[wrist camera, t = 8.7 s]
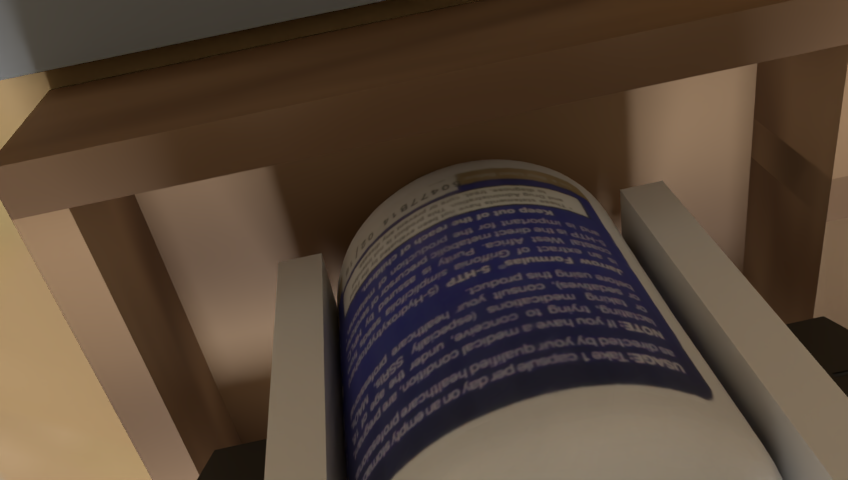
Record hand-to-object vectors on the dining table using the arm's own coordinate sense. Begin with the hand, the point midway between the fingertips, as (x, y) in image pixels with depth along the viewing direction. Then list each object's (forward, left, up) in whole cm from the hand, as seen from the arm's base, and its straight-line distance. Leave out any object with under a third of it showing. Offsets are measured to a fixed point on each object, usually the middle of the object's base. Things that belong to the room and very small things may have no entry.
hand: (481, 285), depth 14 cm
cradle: (0, 0, -2) cm, 2 cm away
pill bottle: (0, 0, 0) cm, 1 cm away
